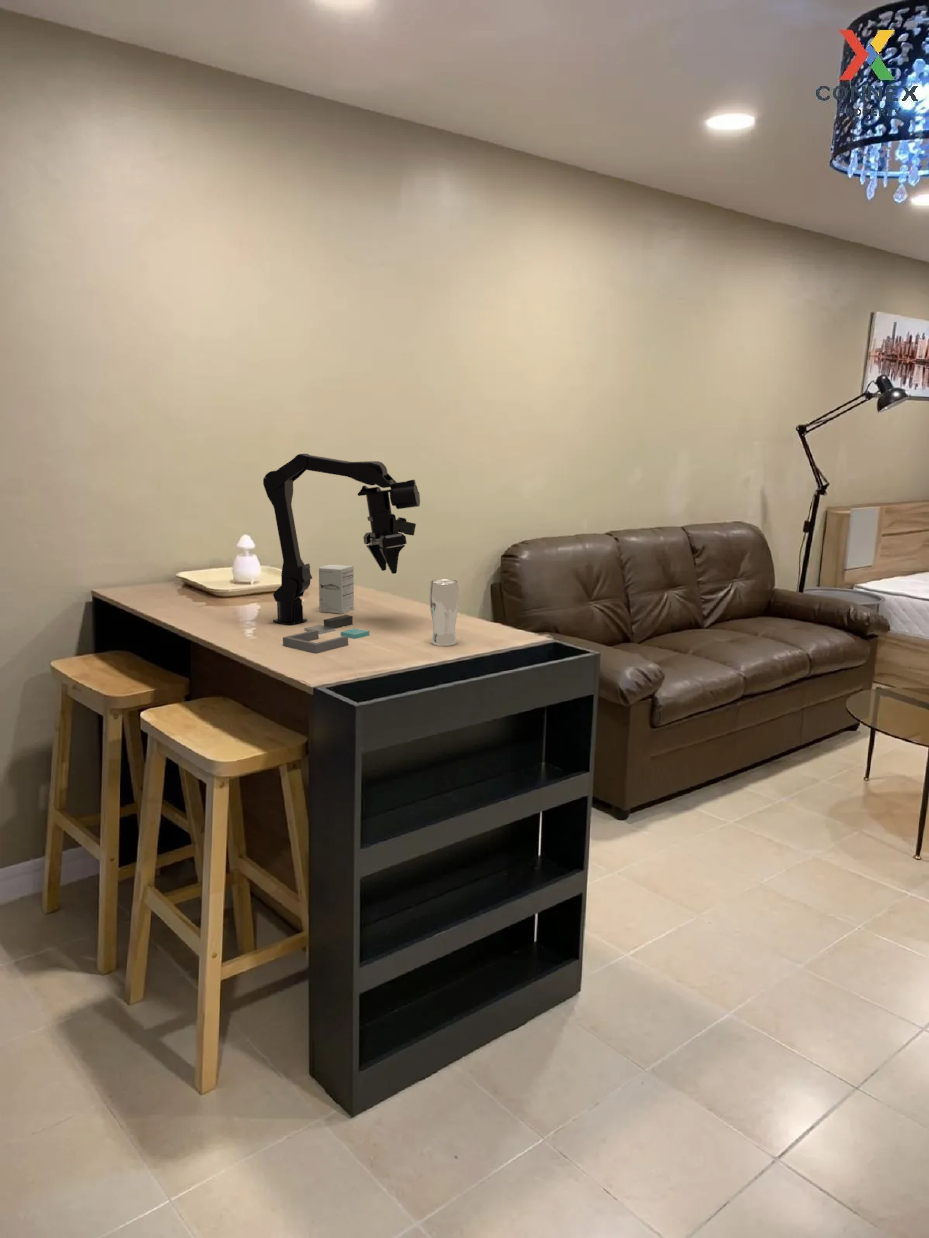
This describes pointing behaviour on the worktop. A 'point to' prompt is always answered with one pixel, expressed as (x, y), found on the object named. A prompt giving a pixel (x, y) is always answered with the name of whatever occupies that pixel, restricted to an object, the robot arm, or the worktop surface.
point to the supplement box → (336, 588)
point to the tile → (355, 633)
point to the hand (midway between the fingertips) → (389, 572)
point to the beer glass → (444, 611)
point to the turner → (332, 624)
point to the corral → (303, 642)
